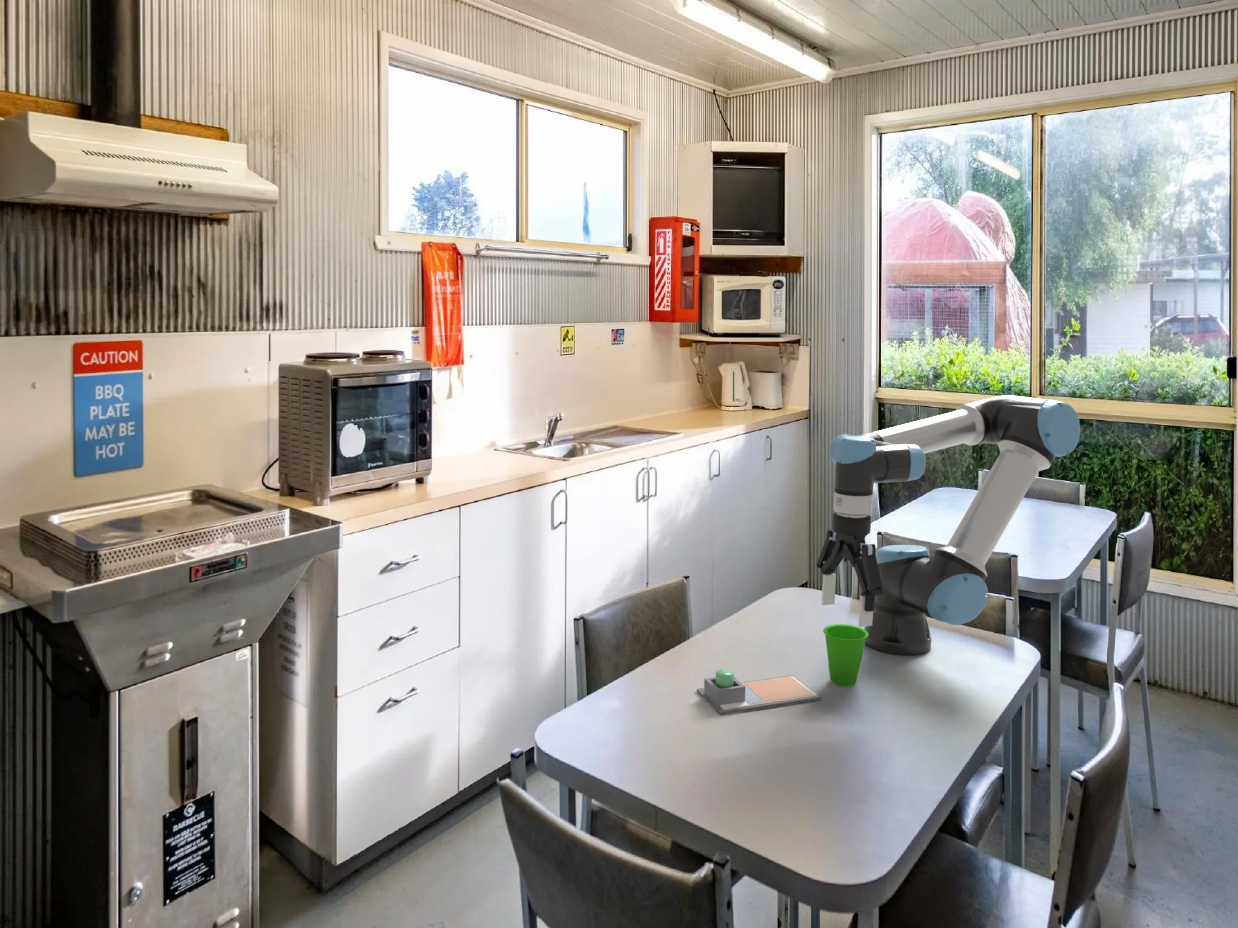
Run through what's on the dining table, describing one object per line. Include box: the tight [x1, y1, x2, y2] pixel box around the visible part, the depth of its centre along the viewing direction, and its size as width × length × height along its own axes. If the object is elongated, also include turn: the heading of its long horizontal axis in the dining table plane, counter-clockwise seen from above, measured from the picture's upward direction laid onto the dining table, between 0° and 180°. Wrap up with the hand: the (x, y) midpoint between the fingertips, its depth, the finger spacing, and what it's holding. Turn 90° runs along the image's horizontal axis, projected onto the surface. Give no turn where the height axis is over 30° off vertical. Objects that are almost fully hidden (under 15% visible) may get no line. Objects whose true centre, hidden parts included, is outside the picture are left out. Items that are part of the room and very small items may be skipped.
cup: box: [823, 623, 869, 688], centre depth 184 cm, size 9×9×11 cm
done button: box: [715, 668, 735, 689], centre depth 175 cm, size 4×4×3 cm
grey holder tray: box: [696, 674, 822, 716], centre depth 177 cm, size 22×11×4 cm, turn 109°
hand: (845, 614), depth 182 cm, fingers open, 13 cm apart
